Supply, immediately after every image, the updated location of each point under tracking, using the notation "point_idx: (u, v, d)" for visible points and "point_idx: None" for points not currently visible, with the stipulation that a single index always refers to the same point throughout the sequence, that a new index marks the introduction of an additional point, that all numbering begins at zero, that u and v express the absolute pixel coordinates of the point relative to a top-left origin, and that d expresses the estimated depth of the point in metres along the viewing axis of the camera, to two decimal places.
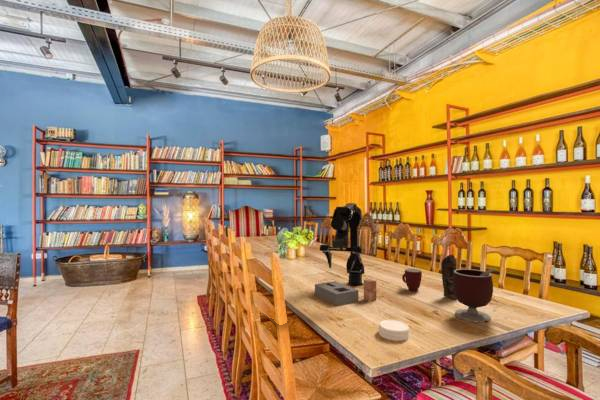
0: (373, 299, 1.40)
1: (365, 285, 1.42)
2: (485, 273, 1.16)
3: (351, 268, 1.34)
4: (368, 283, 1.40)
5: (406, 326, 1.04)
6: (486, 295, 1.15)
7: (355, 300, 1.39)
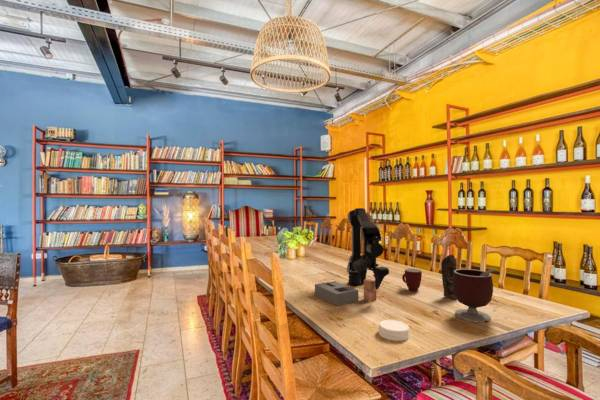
0: (373, 299, 1.40)
1: (365, 285, 1.42)
2: (485, 273, 1.16)
3: (376, 288, 1.37)
4: (368, 283, 1.40)
5: (406, 326, 1.04)
6: (486, 295, 1.15)
7: (355, 300, 1.39)
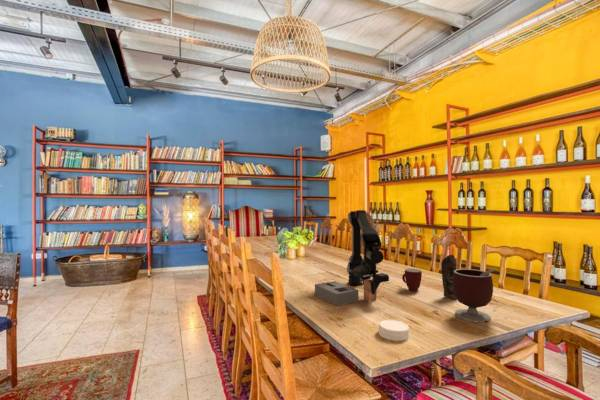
0: (373, 299, 1.40)
1: (365, 285, 1.42)
2: (485, 273, 1.16)
3: (373, 293, 1.39)
4: (368, 283, 1.40)
5: (406, 326, 1.04)
6: (486, 295, 1.15)
7: (355, 300, 1.39)
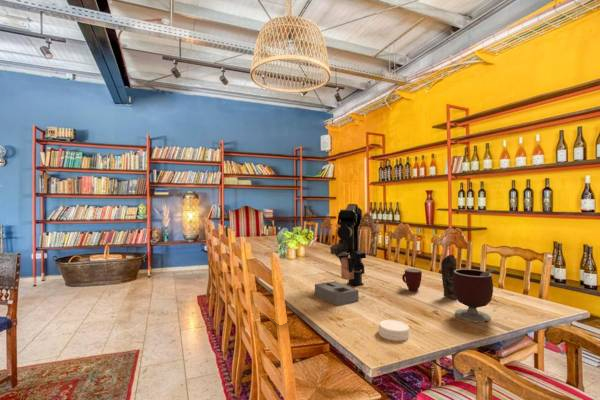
0: (350, 277, 1.39)
1: (342, 263, 1.41)
2: (485, 273, 1.16)
3: (350, 271, 1.38)
4: (345, 261, 1.39)
5: (406, 326, 1.04)
6: (486, 295, 1.15)
7: (355, 300, 1.39)
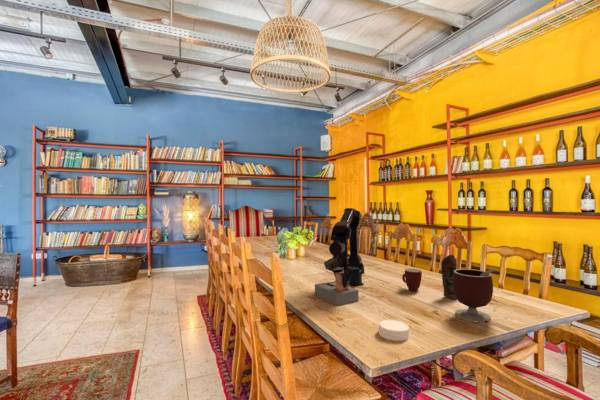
0: None
1: (336, 278, 1.41)
2: (485, 273, 1.16)
3: (344, 286, 1.39)
4: (339, 276, 1.39)
5: (406, 326, 1.04)
6: (486, 295, 1.15)
7: (355, 300, 1.39)
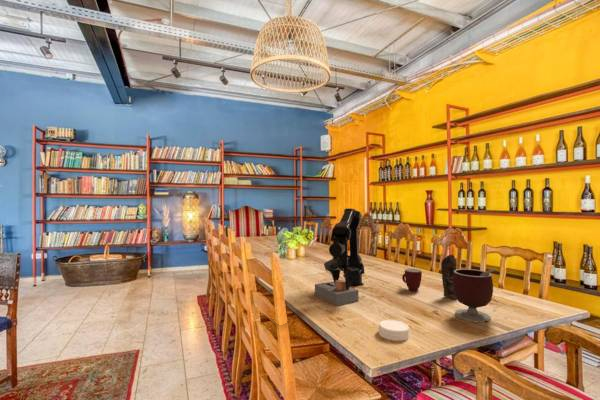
0: None
1: (336, 286, 1.41)
2: (485, 273, 1.16)
3: (347, 288, 1.37)
4: (339, 284, 1.39)
5: (406, 326, 1.04)
6: (486, 295, 1.15)
7: (355, 300, 1.39)
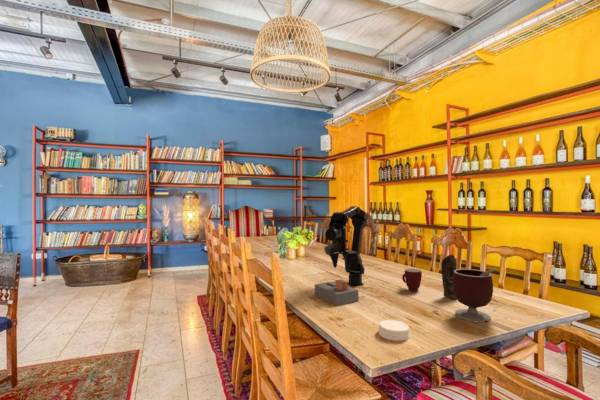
0: None
1: (336, 286, 1.41)
2: (485, 273, 1.16)
3: (346, 270, 1.48)
4: (339, 284, 1.39)
5: (406, 326, 1.04)
6: (486, 295, 1.15)
7: (355, 300, 1.39)
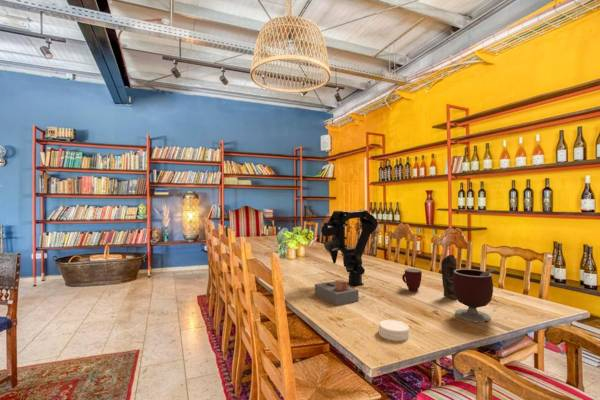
0: None
1: (336, 286, 1.41)
2: (485, 273, 1.16)
3: (344, 265, 1.56)
4: (339, 284, 1.39)
5: (406, 326, 1.04)
6: (486, 295, 1.15)
7: (355, 300, 1.39)
